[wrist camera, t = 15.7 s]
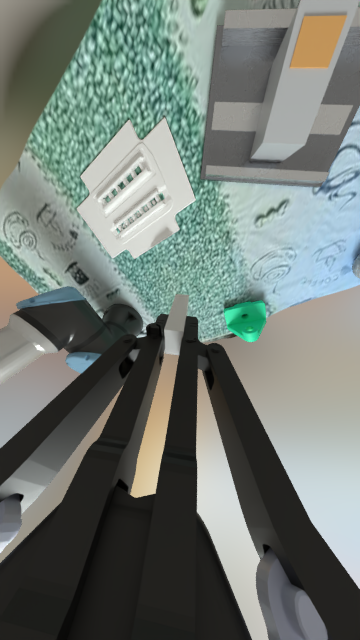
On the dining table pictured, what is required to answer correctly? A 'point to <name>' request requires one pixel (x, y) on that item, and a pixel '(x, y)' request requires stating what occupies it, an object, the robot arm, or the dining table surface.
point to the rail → (248, 95)
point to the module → (301, 76)
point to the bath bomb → (356, 267)
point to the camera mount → (246, 319)
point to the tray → (136, 190)
